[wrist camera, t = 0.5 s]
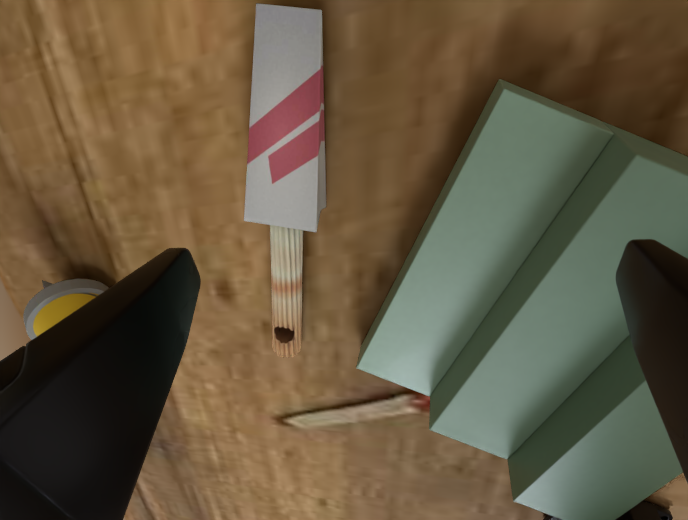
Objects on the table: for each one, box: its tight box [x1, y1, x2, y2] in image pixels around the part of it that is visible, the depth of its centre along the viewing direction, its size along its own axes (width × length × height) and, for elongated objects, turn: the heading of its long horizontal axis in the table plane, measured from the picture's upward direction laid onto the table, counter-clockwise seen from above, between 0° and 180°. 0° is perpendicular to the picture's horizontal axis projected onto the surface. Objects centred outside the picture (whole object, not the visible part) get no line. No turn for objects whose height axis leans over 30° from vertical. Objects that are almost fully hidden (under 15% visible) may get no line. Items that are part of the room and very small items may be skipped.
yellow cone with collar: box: [24, 279, 109, 340], centre depth 29 cm, size 5×5×10 cm
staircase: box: [356, 79, 688, 520], centre depth 23 cm, size 18×15×7 cm
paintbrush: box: [244, 3, 326, 358], centre depth 25 cm, size 4×3×20 cm
